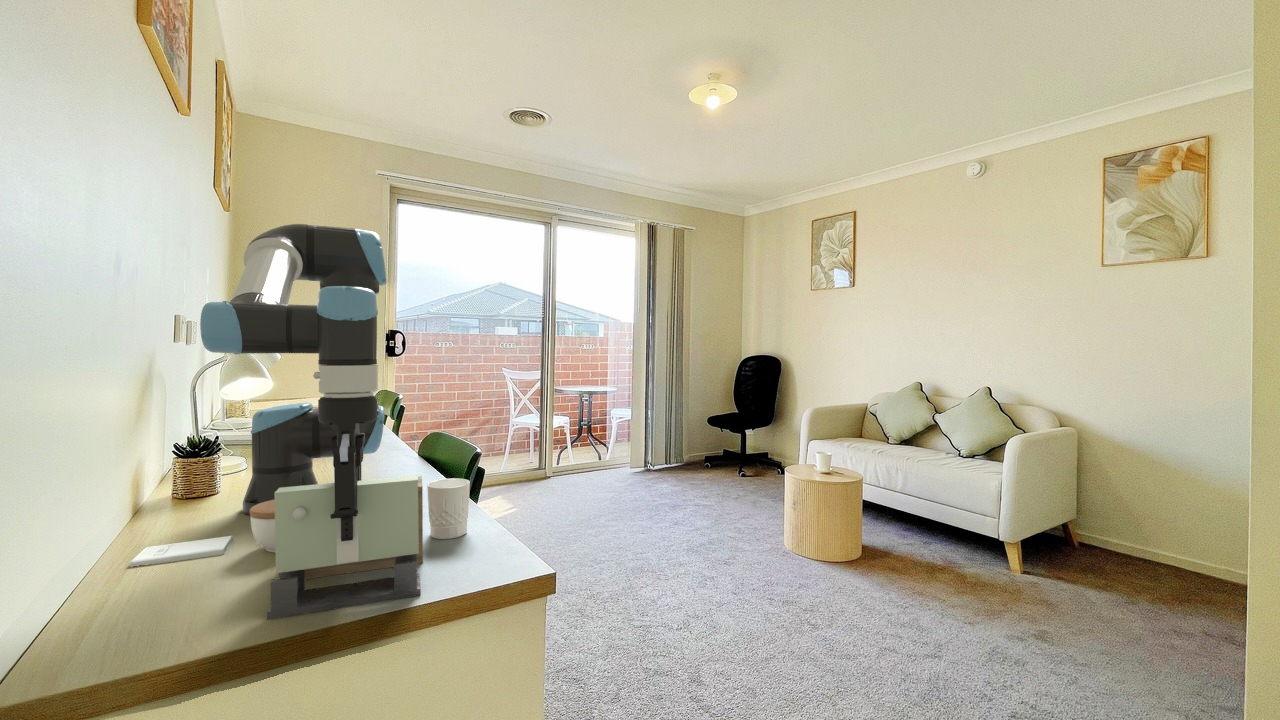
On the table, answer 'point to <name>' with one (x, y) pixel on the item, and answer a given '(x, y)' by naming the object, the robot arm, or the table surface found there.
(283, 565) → the door panel
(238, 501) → the table surface
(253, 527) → the lidded jar
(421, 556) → the cabinet
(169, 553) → the external hard drive
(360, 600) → the clip rail
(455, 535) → the white cup
